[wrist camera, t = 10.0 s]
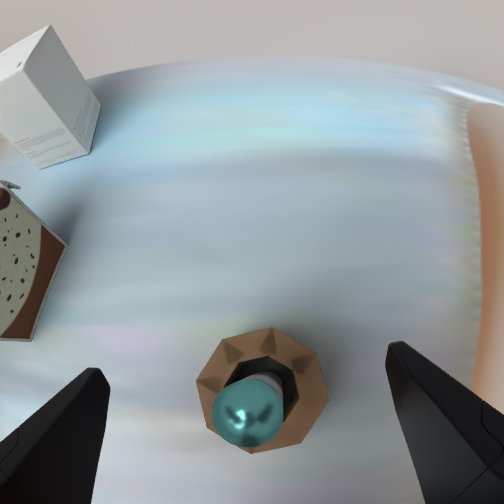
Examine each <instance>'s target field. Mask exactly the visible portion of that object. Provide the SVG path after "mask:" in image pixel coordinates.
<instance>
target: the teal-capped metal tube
mask: <svg viewBox="0 0 504 504" xmlns="http://www.w3.org/2000/svg"><path fill="white" fill-rule="evenodd" d="M212 421H213V424H214V426H215V429H216V430H217V432H218V433H219V434H220V436H221V437H222V438H224V439H225V440H226V441H228V442H229V443H231V444H233V445H236V446H240V447H246V448H248V447H257V446H261V445H263V444H265V443H267V442H269V441H270V440H271V439H273V438H274V437H275V436H276V434H277V433H278V431H279V430H280V428H281V425H282V422H283V386H282V382H281V380H280V378H279V377H278V376H277V375H276V374H274V373H272V372H269V371H260V372H257V373H255V374H253V375H251V376H248V377H246V378H244V379H242V380H239V381H237V382H235V383H233V384H230V385H229V386H227V387H225V388H224V389H223V390H222V391H221V392H220V393H219V394H218V395H217V397H216V399H215V400H214V403H213V406H212Z"/></svg>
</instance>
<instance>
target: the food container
mask: <svg viewBox="0 0 504 504" xmlns="http://www.w3.org/2000/svg"><path fill="white" fill-rule="evenodd" d="M9 188H15V189H20V188H21V187H19V186H17V185H14V184H12V183H10V182H7V181H2V180H0V340H1V341H22V342H31V341H32V338H33V335H34V332H35V329H36V326H37V323H38V320H39V317H40V314H41V312H42V309H43V306H44V304H45V301H46V298H47V296H48V293H49V290H50V288H51V285H52V283H53V280H54V278H55V276H56V273H57V271H58V268H59V266H60V264H61V262H62V259H63V257H64V255H65V252H66V250H67V248H68V246H69V245H68V244H67V243H66V242H64V241H63V240H62V239H61V238H60V237H59V236H58V235H57V234H56V233H55V232H53V231H52V230H51V229H50V228H49V227H48V226H47V225H46V224H45V223H44V222H43V221H42V220H41V219H40V218H39V217H37V216H36V215H35V214H34V213H33V212H32V211H31V210H30V209H29V208H28V207H27V206H26V205H25V204H24V203H23V202H22V201H21V200H20V199H19V198H18V197H17V196H16V195H15V194H14V193H13V192H12V191H11V190H10V189H9Z"/></svg>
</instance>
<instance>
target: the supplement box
mask: <svg viewBox="0 0 504 504" xmlns="http://www.w3.org/2000/svg"><path fill="white" fill-rule="evenodd" d="M100 109H101V104H100V102H99V101H98V99H97V98H96V96H95V95H94V93H93V92H92V90H91V88H90V87H89V85H88V84H87V82H86V81H85V79H84V78H83V76H82V74H81V73H80V71H79V70H78V68H77V66H76V65H75V63H74V62H73V60H72V58H71V57H70V55H69V54H68V52H67V50H66V49H65V47H64V46H63V44H62V42H61V41H60V39H59V37H58V36H57V34H56V33H55V31H54V29H53V27H52V26H51V25H48V26H46V27H44V28H42V29H41V30H39V31H37V32H35V33H33V34H31V35H30V36H28V37H26V38H24V39H23V40H21V41H20V42H18V43H16V44H14V45H12V46H11V47H10V48H8V49H6V50H4V51H3V52H1V53H0V133H1V134H2V135H3V136H4V137H5V138H6V139H7V140H8V141H9V142H10V143H11V144H12V145H13V146H14V147H15V148H16V149H17V150H18V151H19V152H20V153H22V154H23V155H24V156H25V157H26V158H27V159H28V160H29V161H30V162H31V163H32V164H33V165H34V166H35V167H36V168H37V169H39V170H40V169H42V168H45V167H48V166H51V165H54V164H57V163H60V162H63V161H67V160H70V159H73V158H77V157H80V156H83V155H87V154H89V152H90V148H91V144H92V140H93V136H94V132H95V128H96V124H97V120H98V117H99V113H100Z"/></svg>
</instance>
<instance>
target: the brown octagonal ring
mask: <svg viewBox="0 0 504 504" xmlns="http://www.w3.org/2000/svg"><path fill="white" fill-rule="evenodd" d="M265 357H271V358H273V359H274V360H276V361H278V362H279V363H281V364H283V365H285V366H286V367H288V368H290V369H291V370H292V374H293V378H294V382H295V386H296V390H297V393H296V395H295V396H294V398H293V399H292V401H291V402H290V404H289V406H288V407H287V409H286V410H285V412H284V413H283V422H282V425H281V428H280V430H279V431H278V433H277V434H276V436H275V437H274V438H273V439H271V440H270V441H269V442H267V443H265V444H263V445H261V446H257V447H248V448H246V447H240V446H238V447H239V448H241V449H243V450H245V451H246V452H248V453H250V454H253V453H258V452H263V451H268V450H273V449H278V448H282V447H286V446H291V445H295V444H299V443H301V442H302V441H303V439H304V438H305V436H306V435H307V434H308V432H309V431H310V429H311V428H312V426H313V424H314V423H315V421H316V420H317V418H318V417H319V415H320V414H321V412H322V411H323V409H324V407H325V406H326V404H327V403H328V401H329V400H328V396H327V392H326V389H325V385H324V381H323V377H322V373H321V369H320V365H319V361H318V357H317V354H316V352H314V351H312V350H311V349H309V348H307V347H305V346H303V345H302V344H300V343H298V342H296V341H295V340H293V339H291V338H289V337H288V336H286V335H284V334H282V333H281V332H279V331H277V330H275V329H274V328H268V329H264V330H260V331H256V332H252V333H247V334H243V335H239V336H235V337H230V338H226V339H222V341H221V342H220V344H219V345H218V347H217V348H216V350H215V352H214V353H213V355H212V356H211V358H210V359H209V361H208V363H207V364H206V366H205V367H204V369H203V370H202V372H201V373H200V375H199V377H198V378H197V380H196V384H197V388H198V392H199V396H200V401H201V405H202V409H203V413H204V417H205V421H206V425H207V428H208V429H210V430H212V431H213V432H215V433H216V434H218V435H219V436H220V434H219V433H218V432H217V430H216V429H215V426H214V424H213V421H212V406H213V403H214V400H215V399H216V397H217V395H218V394H219V393H220V392H221V391H222V390H223V389H224V388H225V387H227V386H229V385H230V384H233V381H234V379H235V378H236V376H237V375H238V373H239V372H240V370H241V369H242V367H243V365H244V364H245V362H248V361H253V360H257V359H261V358H265Z"/></svg>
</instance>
